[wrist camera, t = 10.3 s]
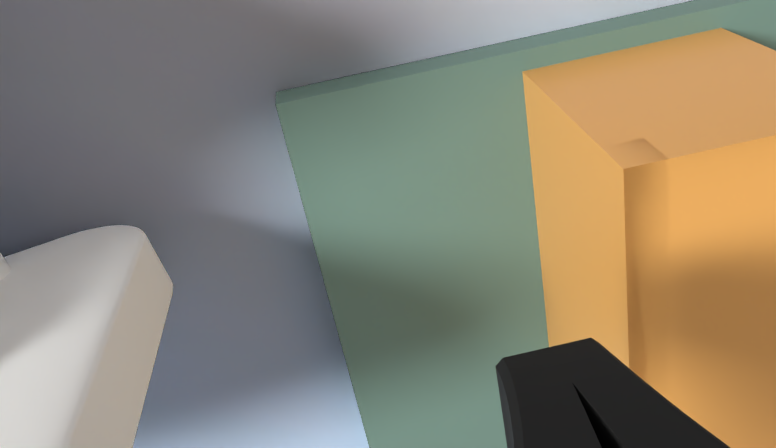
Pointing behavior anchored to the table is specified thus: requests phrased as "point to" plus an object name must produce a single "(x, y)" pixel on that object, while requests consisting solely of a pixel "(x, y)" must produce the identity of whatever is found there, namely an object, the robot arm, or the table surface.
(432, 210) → the board
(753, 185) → the block
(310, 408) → the table surface
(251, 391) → the table surface
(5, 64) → the table surface
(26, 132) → the table surface
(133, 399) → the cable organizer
